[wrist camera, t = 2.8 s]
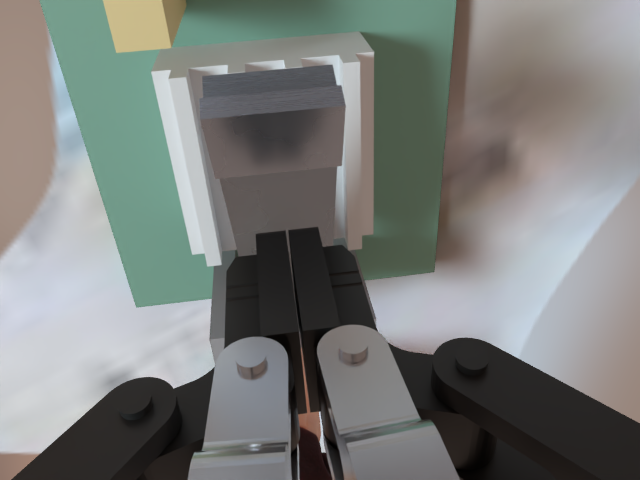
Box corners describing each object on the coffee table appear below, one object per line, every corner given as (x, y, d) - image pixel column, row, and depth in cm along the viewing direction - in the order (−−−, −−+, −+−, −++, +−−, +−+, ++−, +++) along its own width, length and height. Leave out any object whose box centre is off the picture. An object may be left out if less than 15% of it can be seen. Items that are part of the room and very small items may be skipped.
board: (20, -93, 20) (-79, -74, 14) (457, -122, 21) (549, -116, 15) (139, 295, 30) (113, 407, 24) (428, 261, 31) (476, 359, 25)
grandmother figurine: (350, 336, 34) (401, 548, 23) (329, 379, 36) (367, 593, 25) (225, 315, 32) (219, 538, 21) (210, 362, 33) (198, 588, 23)
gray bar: (174, 48, 12) (175, 122, 11) (352, 33, 13) (369, 103, 12) (248, 319, 26) (251, 364, 25) (334, 308, 26) (341, 353, 25)
